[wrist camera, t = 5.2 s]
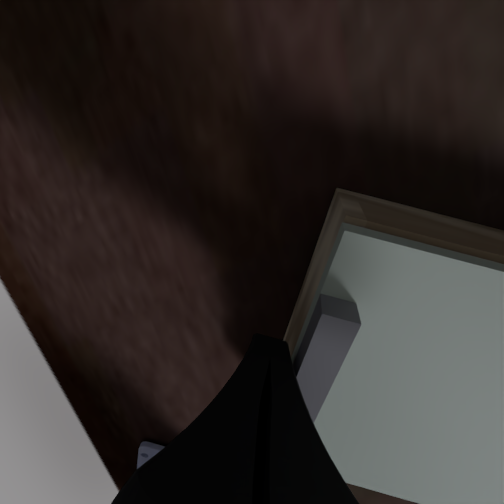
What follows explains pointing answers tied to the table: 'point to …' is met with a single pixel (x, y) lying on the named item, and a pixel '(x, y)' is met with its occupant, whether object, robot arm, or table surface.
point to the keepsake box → (394, 223)
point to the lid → (407, 368)
